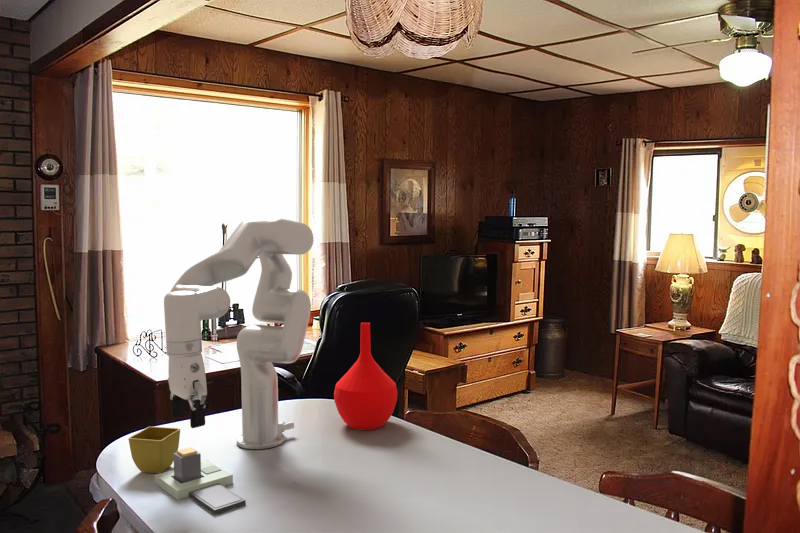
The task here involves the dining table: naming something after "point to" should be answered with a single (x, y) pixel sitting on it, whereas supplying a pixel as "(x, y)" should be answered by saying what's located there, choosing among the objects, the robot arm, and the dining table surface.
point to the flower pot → (154, 448)
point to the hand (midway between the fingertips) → (188, 421)
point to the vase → (365, 390)
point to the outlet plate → (208, 477)
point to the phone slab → (217, 498)
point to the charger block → (187, 465)
